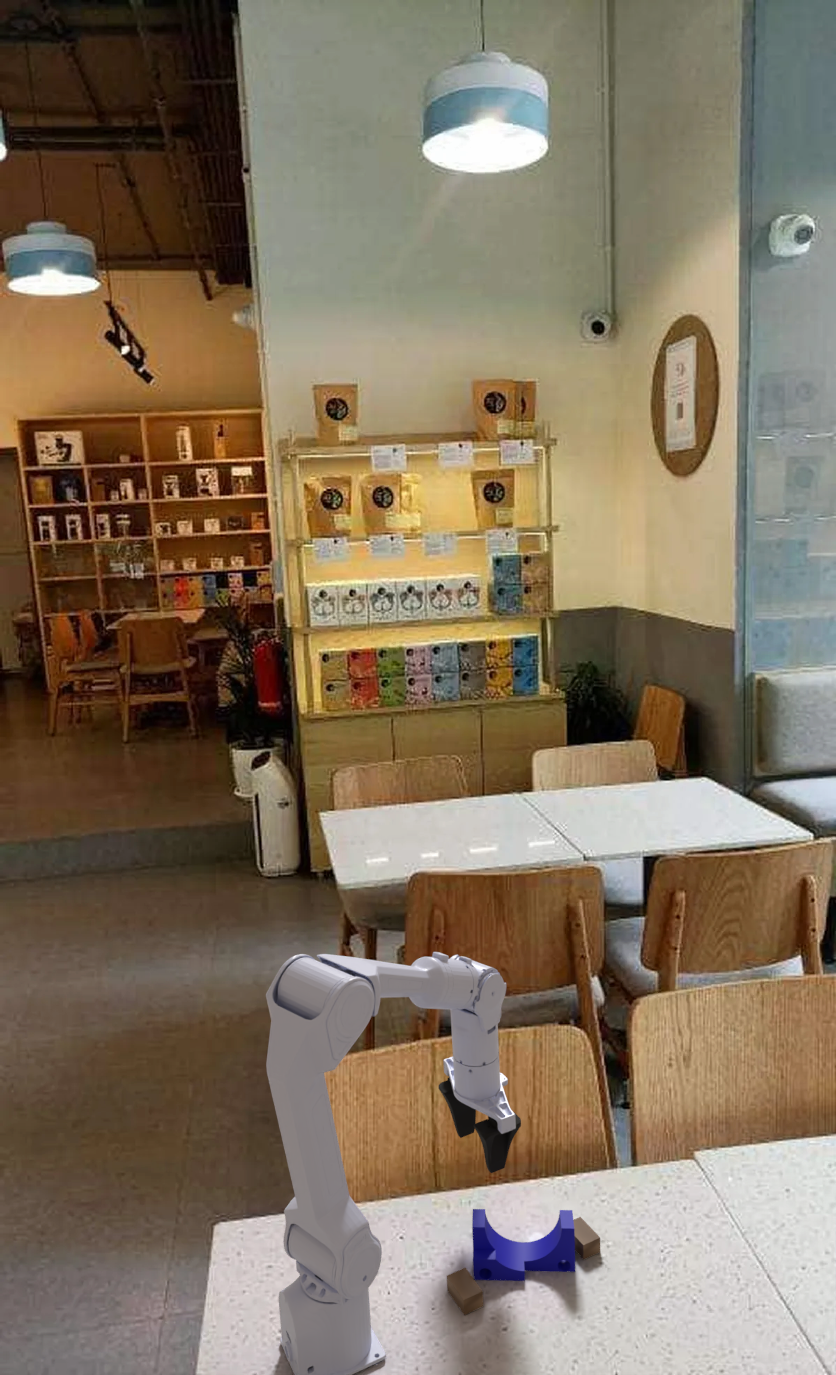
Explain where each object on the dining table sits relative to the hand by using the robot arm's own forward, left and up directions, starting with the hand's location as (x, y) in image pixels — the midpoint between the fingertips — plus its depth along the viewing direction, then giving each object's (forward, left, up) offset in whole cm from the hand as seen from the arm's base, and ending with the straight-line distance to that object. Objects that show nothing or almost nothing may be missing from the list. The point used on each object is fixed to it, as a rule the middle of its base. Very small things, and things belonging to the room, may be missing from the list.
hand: (480, 1151), depth 120 cm
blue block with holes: (0, -9, -10) cm, 14 cm away
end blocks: (0, -10, -10) cm, 14 cm away
